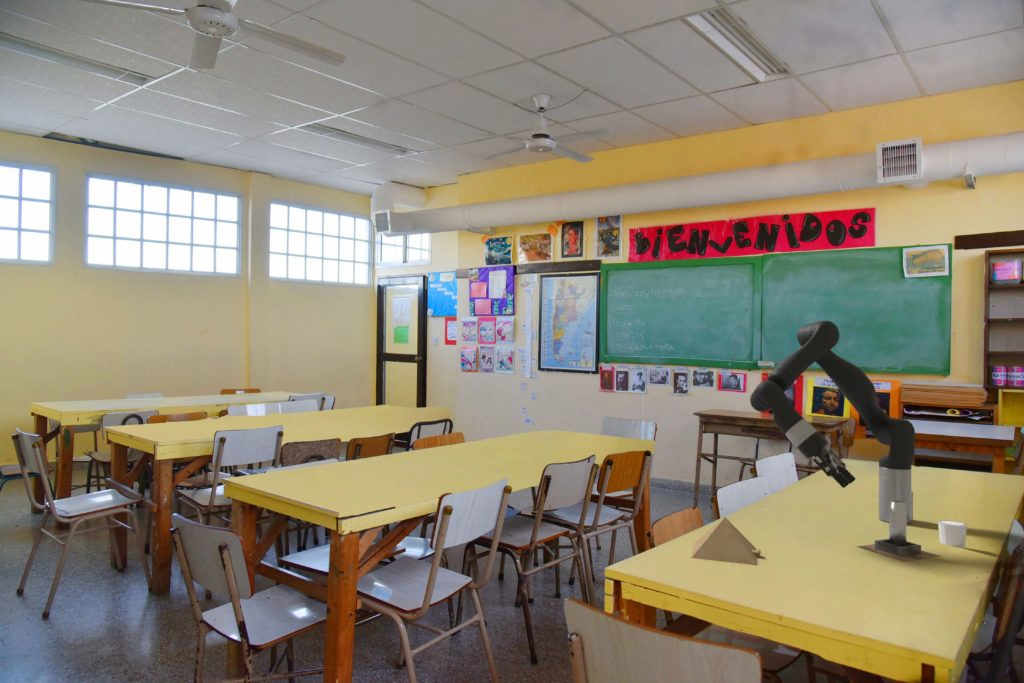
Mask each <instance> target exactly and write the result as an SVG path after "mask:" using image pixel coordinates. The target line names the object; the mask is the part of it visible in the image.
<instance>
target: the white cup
mask: <svg viewBox="0 0 1024 683" xmlns="http://www.w3.org/2000/svg"><path fill="white" fill-rule="evenodd" d="M937 523H938V525H937V526H938V534H939V543H940V544H942V545H945V546H950V547H955V548H960V549H964V550H965V549H966V538H967V530H968V524H966V523H964V522H961V521H955V520H947V519H946V520H945V519H942V520H938V521H937Z"/></svg>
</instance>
